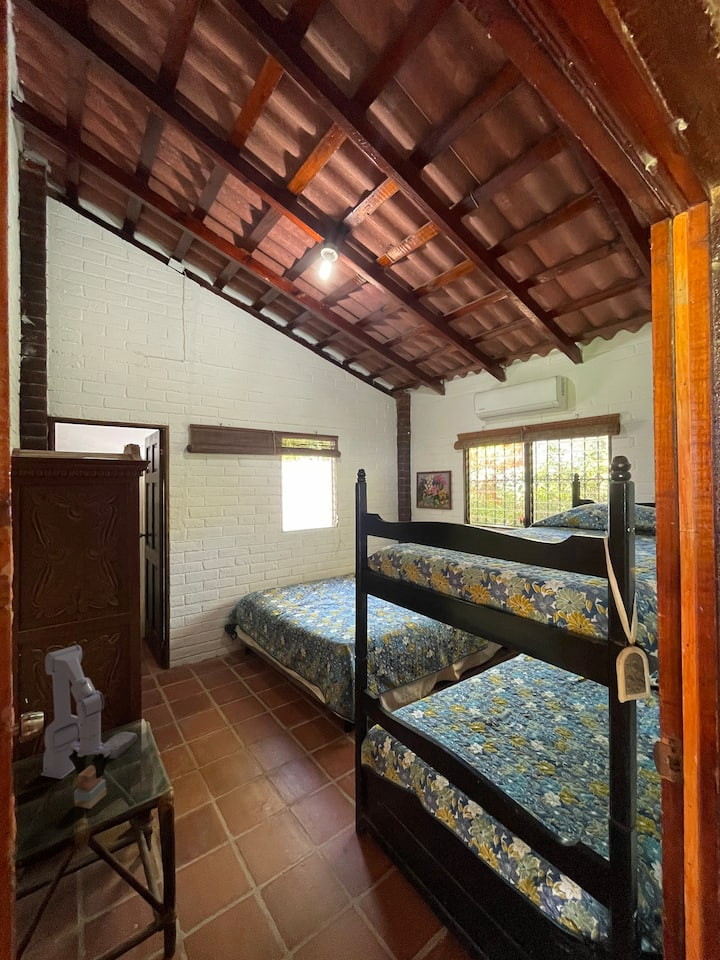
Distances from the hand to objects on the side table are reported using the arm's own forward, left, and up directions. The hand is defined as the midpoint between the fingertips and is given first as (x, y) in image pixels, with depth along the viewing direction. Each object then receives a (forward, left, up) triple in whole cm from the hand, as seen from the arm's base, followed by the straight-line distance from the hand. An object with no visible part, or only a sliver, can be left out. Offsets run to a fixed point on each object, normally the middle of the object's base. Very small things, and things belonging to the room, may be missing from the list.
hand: (90, 774), depth 128 cm
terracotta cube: (0, 0, -3) cm, 3 cm away
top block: (0, 0, -6) cm, 6 cm away
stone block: (-13, +23, -8) cm, 28 cm away
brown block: (0, 0, -8) cm, 8 cm away
